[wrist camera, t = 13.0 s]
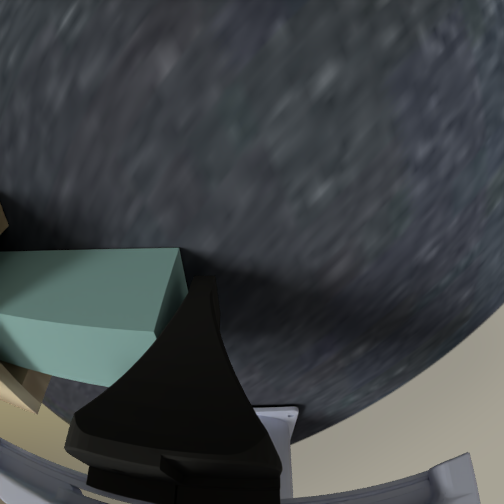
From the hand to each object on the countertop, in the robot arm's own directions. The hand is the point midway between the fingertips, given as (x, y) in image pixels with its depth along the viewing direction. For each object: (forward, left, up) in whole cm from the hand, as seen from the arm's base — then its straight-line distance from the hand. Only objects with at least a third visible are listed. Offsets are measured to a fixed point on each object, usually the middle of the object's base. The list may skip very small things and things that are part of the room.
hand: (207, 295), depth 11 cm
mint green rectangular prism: (-1, +7, -1) cm, 7 cm away
